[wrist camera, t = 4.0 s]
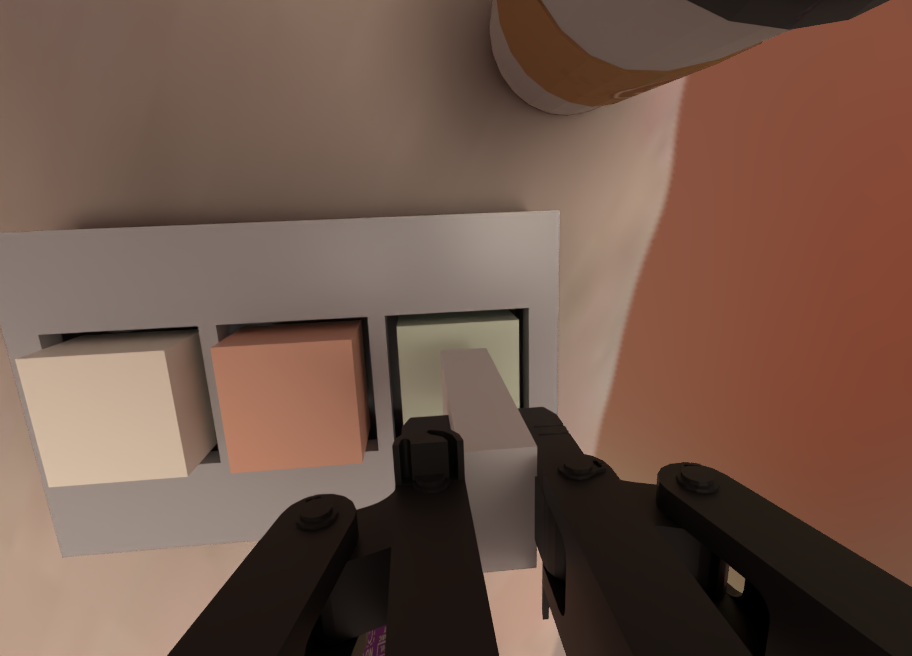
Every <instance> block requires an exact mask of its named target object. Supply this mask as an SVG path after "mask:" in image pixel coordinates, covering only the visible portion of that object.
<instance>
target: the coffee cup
mask: <svg viewBox="0 0 912 656" xmlns="http://www.w3.org/2000/svg"><path fill="white" fill-rule="evenodd" d="M887 1H889V0H493V2H492V7H491V18H490V28H489V31H490V38H491V45H492V52H493V55H494V58H495V60H496V63H497V65H498V68H499V70H500V73H501V75H502V76H503V78H504V79H505V80H506V82H507V83H508V85H509V86H510V87H511V89H512V90H513V92H515V93H516V94H517V95H518V96H519V97H521V98H522V99H523V100H524V101H526V102H527V103H528V104H529V105H531V106H533V107H536V108H538V109H540V110H543V111H545V112H547V113H553V114H562V115H572V114H578V113H583V112H588V111H591V110H593V109H596V108H598V107H601V106H603V105H608V104H614V103H617V102H619V101H622V100H625V99H627V98H630V97H632V96H635V95H638V94H640V93H643V92H645V91H648V90H651V89H653V88H656V87H658V86H661V85H663V84H666V83H669V82H671V81H674V80H676V79H679V78H682V77H684V76H687V75H689V74H692V73H694V72H697V71H699V70H702V69H705V68H707V67H710V66H712V65H715V64H718V63H720V62H722V61H724V60H726V59H728V58H730V57H732V56H735V55H737V54H739V53H741V52H743V51H746V50H748V49H750V48H752V47H754V46H756V45H758V44H761V43H762V42H763V41H765V40H767V39H769V38H772V37H775V36H777V35H780V34H782V33H784V32H787V31H790V30H792V29H796V28H802V27H808V26H814V25H820V24H826V23H832V22H838V21H843V20H849V19H851V18H853V17H856V16H858V15H860V14H862V13H864V12H866V11H868V10H870V9H872V8H874V7H877V6H879V5H881V4H883V3H885V2H887Z"/></svg>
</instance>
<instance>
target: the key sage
mask: <svg viewBox="0 0 912 656" xmlns="http://www.w3.org/2000/svg"><path fill="white" fill-rule="evenodd" d="M397 341H398V355H399V369H400V384H401V398H402V412H403V425H404V424H405V423H406V422H407V421H408V420H409V419H410V418H411V417H425V416H440V415H443V403H442V382H441V361H440V351H443V350H460V349H476V348H487V350H488V352H489V354H490V356H491V358H492V360H493V362H494V364H495V366H496V368H497V370H498V372H499V374H500V375H501V377H502V379H503V381H504V383H505V385H506V387H507V389H508V391H509V393H510V395H511V397H512V399H513V401H514V403H515V404H516V406H517V408H520V403H519V320H518V319H517V318H516V317H515V316H514V315H513V314H512V313H511V312H510V311H509V310H508V309H498V310H480V311H462V312H444V313H426V314H407V315H398V321H397Z"/></svg>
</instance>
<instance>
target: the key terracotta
mask: <svg viewBox="0 0 912 656" xmlns="http://www.w3.org/2000/svg"><path fill="white" fill-rule="evenodd" d="M210 350H211V356H212V362H213V368H214V374H215V380H216V386H217V392H218V398H219V404H220V410H221V417H222V423H223V429H224V435H225V441H226V447H227V453H228V459H229V465H230V471H231V473H243V472H256V471H269V470H282V469H295V468H308V467H321V466H334V465H347V464H360V463H363V459H364V455H365V450H366V445H367V441H368V436H369V431H370V426H371V425H370V414H369V402H368V391H367V379H366V368H365V356H364V345H363V333H362V322H361V320H353V321H335V322H317V323H298V324H280V325H262V326H244V327H242V328H240V329H239V330H237V331H236V332H234V333H233V334H231V335H229V336H228V337H226V338H225V339H223V340H222V341H220V342H219V343H217V344H215V345H214V346H212V347H211V348H210Z"/></svg>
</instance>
